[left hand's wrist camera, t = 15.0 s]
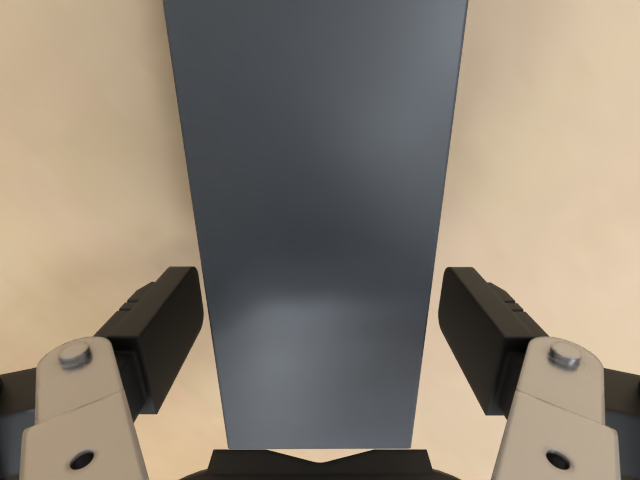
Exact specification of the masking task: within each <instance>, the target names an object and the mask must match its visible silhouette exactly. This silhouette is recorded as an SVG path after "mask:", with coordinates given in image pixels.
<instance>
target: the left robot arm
mask: <svg viewBox="0 0 640 480" xmlns="http://www.w3.org/2000/svg"><path fill="white" fill-rule="evenodd" d="M203 316H204V312H203V304H202V297H201V290H200V283H199V276H198V271H197V269H196V268H195V267H169V268H168V269H167V270H166V271H165V272H164V273H163V274H162V275H161V276H160V278H159V279H158V280H157V281H156V282H151V283H149V284H147V285H146V286H144V287H142V288H140V289H139V290H137V291H136V292H135V293H134V294H133V295H132V296H131V297H130V298H129V299H128V300H127V303H124V304H123V305H122V307H121V308H120V309H119V311H117V312H116V313H115V314H114V315H113V316H112V317H111V318H110V319H109V320H108V321H107V322H106V323H105V324H104V325H103V326H102V327H101V329H100V330H99V331H98V332H97V333H96V334H95V335H94V336H93V337H85V338H80V339H76V340H73V341H70V342H67V343H65V344H63V345H60V346H59V347H57V348H55V349H53V350H52V351H50V352H49V353H48V354H46V355H45V356H44V357H43V358H42V359H41V360H40V362H39V363H38V365H37V368H32V369H27V370H22V371H17V372H12V373H7V374H2V375H0V480H149V477H148V474H147V470H146V466H145V463H144V459H143V456H142V452H141V448H140V445H139V441H138V438H137V434H136V430H135V427H134V421H135V420H136V418H137V416H138V414H157V413H158V411H159V409H160V407H161V405H162V403H163V402H164V400H165V398H166V396H167V394H168V392H169V390H170V388H171V386H172V384H173V382H174V380H175V378H176V376H177V374H178V373H179V371H180V369H181V367H182V365H183V363H184V361H185V359H186V357H187V355H188V353H189V351H190V349H191V347H192V345H193V344H194V342H195V340H196V338H197V336H198V334H199V332H200V330H201V327H202V324H203ZM438 319H439V325H440V328H441V331H442V333H443V335H444V337H445V339H446V340H447V342H448V344H449V346H450V348H451V350H452V352H453V354H454V356H455V358H456V360H457V361H458V363H459V365H460V367H461V369H462V371H463V373H464V375H465V377H466V379H467V381H468V382H469V384H470V386H471V388H472V390H473V392H474V394H475V396H476V398H477V400H478V402H479V403H480V405H481V407H482V409H483V411H484V413H485V415H504V416H505V418H506V419H507V423H506V427H505V430H504V434H503V438H502V441H501V445H500V448H499V452H498V456H497V459H496V463H495V466H494V470H493V474H492V477H491V480H640V375H635V374H630V373H625V372H620V371H616V370H611V369H606V368H603V365H602V363H601V362H600V360H599V359H598V358H597V357H596V356H595V355H594V354H592V353H591V352H590V351H588V350H587V349H585V348H583V347H581V346H579V345H577V344H575V343H573V342H570V341H567V340H564V339H560V338H555V337H549V336H548V335H547V334H546V333H545V332H544V331H543V329H542V328H541V327H540V326H539V325H538V324H537V323H536V322H535V321H534V320H533V319H532V318H531V317H530V316H529V315H528V314H527V313H526V312H523V309H522V308H521V307H520V306H519V305H518V304H517V303H515V300H514V299H513V298H512V297H511V296H510V295H509V294H508V293H507V292H506V291H504V290H503V289H501V288H499V287H497V286H496V285H494V284H492V283H487V282H486V281H485V280H484V279H483V278H482V277H481V276H480V275H479V273H478V272H477V271H476V270H475V269H474V268H473V267H447V268H446V269H445V272H444V276H443V283H442V289H441V296H440V303H439V310H438ZM180 480H460V479H458V478H456V477H454V476H452V475H449V474H447V473H444V472H441V471H439V470H435V469H432V466H431V463H430V460H429V456H428V453H427V450H371V451H367V452H363V453H359V454H355V455H351V456H347V457H343V458H340V459H336V460H332V461H328V462H323V463H317V462H312V461H308V460H304V459H300V458H297V457H293V456H289V455H285V454H281V453H277V452H273V451H269V450H213V453H212V456H211V460H210V463H209V466H208V469H205V470H201V471H199V472H196V473H193V474H191V475H188V476H186V477H184V478H182V479H180Z"/></svg>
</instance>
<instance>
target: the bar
mask: <svg viewBox="0 0 640 480" xmlns="http://www.w3.org/2000/svg"><path fill="white" fill-rule="evenodd" d="M163 6H164V13H165V20H166V26H167V33H168V40H169V47H170V54H171V61H172V67H173V74H174V81H175V88H176V95H177V102H178V108H179V115H180V122H181V129H182V136H183V143H184V149H185V156H186V163H187V170H188V177H189V184H190V190H191V197H192V204H193V211H194V218H195V225H196V231H197V238H198V245H199V252H200V259H201V266H202V272H203V279H204V286H205V293H206V300H207V307H208V314H209V320H210V327H211V334H212V341H213V348H214V355H215V361H216V368H217V375H218V382H219V389H220V396H221V402H222V409H223V416H224V423H225V430H226V437H227V443H228V448H229V449H408V448H411V442H412V434H413V426H414V419H415V411H416V403H417V395H418V387H419V380H420V372H421V364H422V356H423V349H424V341H425V333H426V325H427V318H428V310H429V302H430V294H431V287H432V279H433V271H434V263H435V256H436V248H437V240H438V232H439V225H440V217H441V209H442V201H443V194H444V186H445V178H446V170H447V163H448V155H449V147H450V139H451V132H452V124H453V116H454V108H455V101H456V93H457V85H458V77H459V70H460V62H461V54H462V46H463V39H464V31H465V23H466V15H467V8H468V0H163Z"/></svg>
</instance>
